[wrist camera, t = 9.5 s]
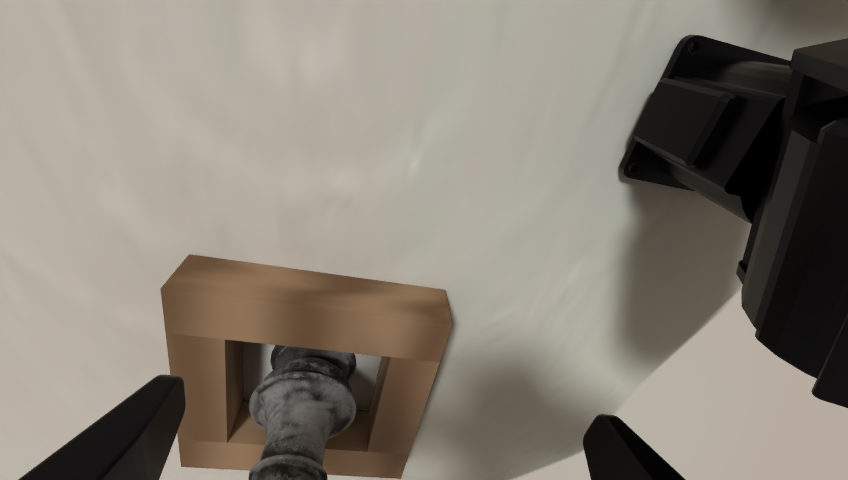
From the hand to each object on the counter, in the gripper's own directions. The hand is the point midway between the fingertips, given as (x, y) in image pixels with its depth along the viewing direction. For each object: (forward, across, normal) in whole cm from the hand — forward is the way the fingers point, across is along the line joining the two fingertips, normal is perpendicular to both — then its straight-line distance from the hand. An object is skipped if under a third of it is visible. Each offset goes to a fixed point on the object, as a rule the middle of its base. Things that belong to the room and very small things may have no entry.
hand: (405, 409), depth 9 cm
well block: (+13, +3, +13) cm, 19 cm away
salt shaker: (+13, +3, +13) cm, 19 cm away
